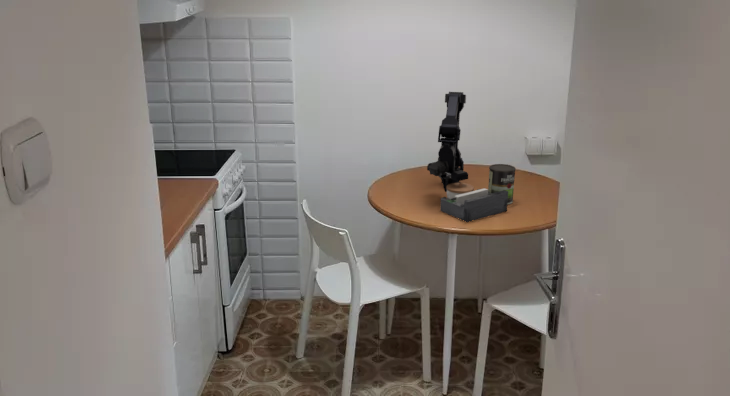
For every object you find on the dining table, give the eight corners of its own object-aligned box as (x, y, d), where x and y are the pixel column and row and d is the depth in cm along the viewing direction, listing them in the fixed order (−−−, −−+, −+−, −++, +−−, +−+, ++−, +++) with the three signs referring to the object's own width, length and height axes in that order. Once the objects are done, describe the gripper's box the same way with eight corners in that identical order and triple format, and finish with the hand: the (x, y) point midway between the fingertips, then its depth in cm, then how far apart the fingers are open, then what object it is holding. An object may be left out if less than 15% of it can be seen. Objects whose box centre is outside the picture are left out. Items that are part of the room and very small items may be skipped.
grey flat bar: (483, 202, 281) (484, 188, 279) (487, 203, 279) (488, 189, 277) (449, 211, 271) (450, 196, 269) (452, 213, 269) (453, 198, 267)
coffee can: (518, 202, 284) (521, 169, 279) (497, 206, 279) (500, 172, 274) (502, 195, 292) (504, 162, 288) (481, 199, 288) (484, 165, 283)
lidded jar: (461, 199, 288) (462, 177, 285) (478, 206, 279) (479, 184, 276) (440, 203, 282) (441, 181, 279) (457, 211, 274) (458, 188, 271)
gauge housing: (479, 200, 286) (480, 181, 283) (506, 211, 274) (508, 191, 272) (440, 210, 274) (440, 191, 272) (466, 222, 263) (467, 202, 260)
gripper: (417, 152, 283) (416, 189, 288) (448, 163, 269) (446, 201, 274) (438, 147, 289) (437, 184, 294) (470, 158, 275) (468, 196, 280)
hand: (446, 191), depth 286 cm, fingers closed
